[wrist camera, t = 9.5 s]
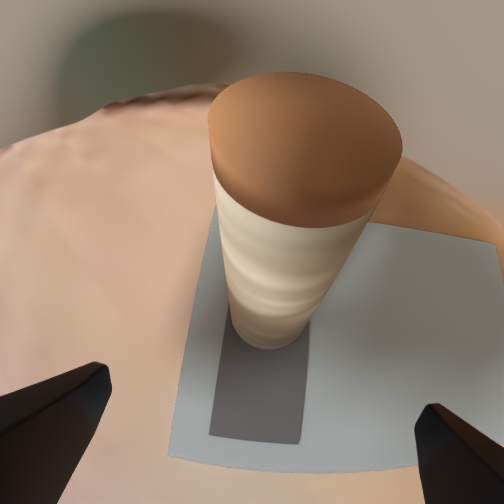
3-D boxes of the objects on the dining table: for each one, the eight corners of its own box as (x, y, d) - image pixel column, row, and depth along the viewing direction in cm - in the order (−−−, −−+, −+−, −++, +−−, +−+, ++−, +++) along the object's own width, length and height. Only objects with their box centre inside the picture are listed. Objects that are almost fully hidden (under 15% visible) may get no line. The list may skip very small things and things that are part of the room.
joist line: (297, 444, 12) (298, 444, 12) (208, 434, 12) (208, 435, 12) (313, 215, 18) (313, 213, 18) (244, 208, 18) (244, 206, 18)
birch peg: (255, 364, 13) (279, 225, 4) (218, 300, 15) (178, 97, 5) (319, 326, 14) (436, 153, 5) (280, 268, 16) (321, 63, 6)
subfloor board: (483, 253, 19) (494, 244, 17) (499, 441, 12) (513, 439, 10) (217, 218, 19) (216, 203, 18) (174, 452, 13) (167, 455, 11)
